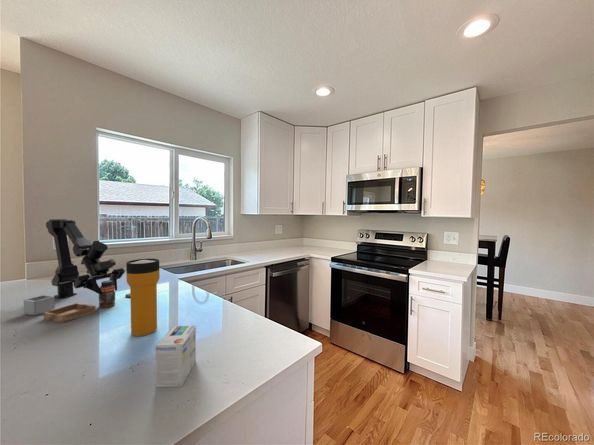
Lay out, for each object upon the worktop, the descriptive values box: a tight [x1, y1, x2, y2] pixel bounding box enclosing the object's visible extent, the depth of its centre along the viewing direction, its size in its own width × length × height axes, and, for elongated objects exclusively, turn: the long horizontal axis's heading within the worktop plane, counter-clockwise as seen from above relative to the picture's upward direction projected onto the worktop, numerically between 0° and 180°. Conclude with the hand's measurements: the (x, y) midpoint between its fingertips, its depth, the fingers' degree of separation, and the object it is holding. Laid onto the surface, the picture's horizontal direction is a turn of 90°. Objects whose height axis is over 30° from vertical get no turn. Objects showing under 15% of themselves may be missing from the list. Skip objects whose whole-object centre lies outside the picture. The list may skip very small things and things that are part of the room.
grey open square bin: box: [23, 294, 56, 316], centre depth 105 cm, size 7×7×6 cm
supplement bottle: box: [98, 279, 116, 309], centre depth 112 cm, size 6×6×11 cm
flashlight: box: [125, 258, 160, 337], centre depth 89 cm, size 10×26×10 cm
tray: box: [43, 302, 96, 324], centre depth 102 cm, size 12×12×2 cm
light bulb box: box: [154, 325, 197, 388], centre depth 66 cm, size 11×7×11 cm, turn 5°
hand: (109, 292), depth 112 cm, fingers closed on supplement bottle, 6 cm apart
